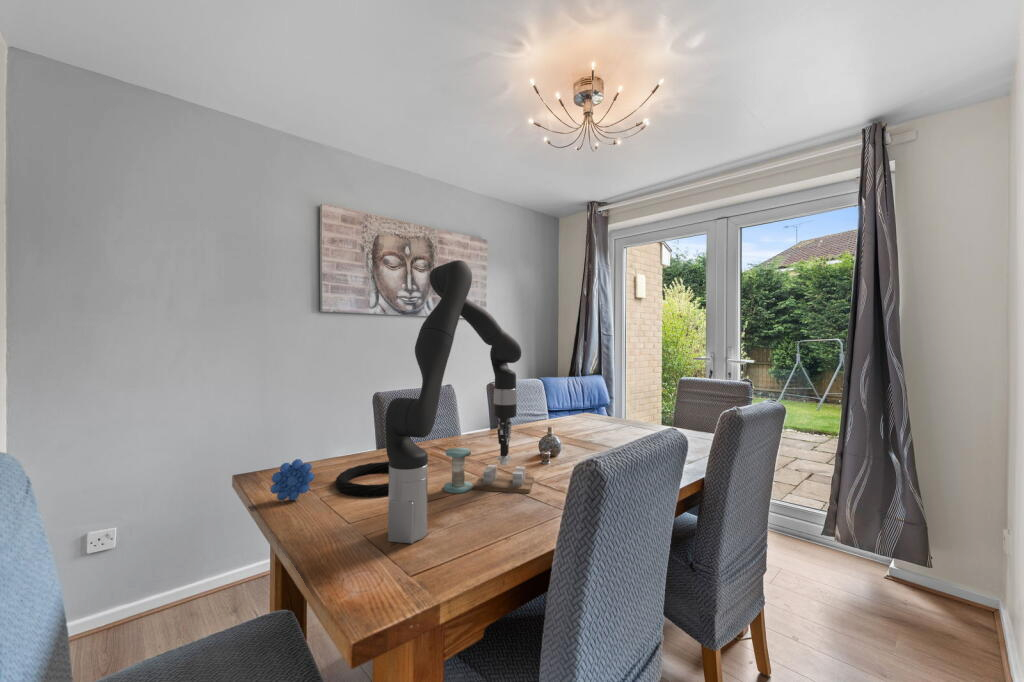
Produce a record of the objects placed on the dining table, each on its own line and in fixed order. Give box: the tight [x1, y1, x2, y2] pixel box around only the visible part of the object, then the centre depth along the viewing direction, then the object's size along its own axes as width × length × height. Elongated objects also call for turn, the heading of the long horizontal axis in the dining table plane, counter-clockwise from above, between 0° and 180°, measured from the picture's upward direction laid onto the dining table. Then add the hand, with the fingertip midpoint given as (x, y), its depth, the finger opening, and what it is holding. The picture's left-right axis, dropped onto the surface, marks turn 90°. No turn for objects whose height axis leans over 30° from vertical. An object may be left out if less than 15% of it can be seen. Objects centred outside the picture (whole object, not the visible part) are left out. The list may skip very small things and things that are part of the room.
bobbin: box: [443, 447, 473, 494], centre depth 141 cm, size 9×9×12 cm
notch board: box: [472, 464, 535, 494], centre depth 144 cm, size 12×18×5 cm, turn 81°
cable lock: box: [334, 461, 389, 498], centre depth 147 cm, size 28×4×30 cm
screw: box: [496, 434, 513, 466], centre depth 144 cm, size 13×5×5 cm
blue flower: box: [270, 458, 315, 501], centre depth 130 cm, size 12×7×12 cm, turn 108°
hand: (504, 454), depth 144 cm, fingers closed on screw, 2 cm apart
